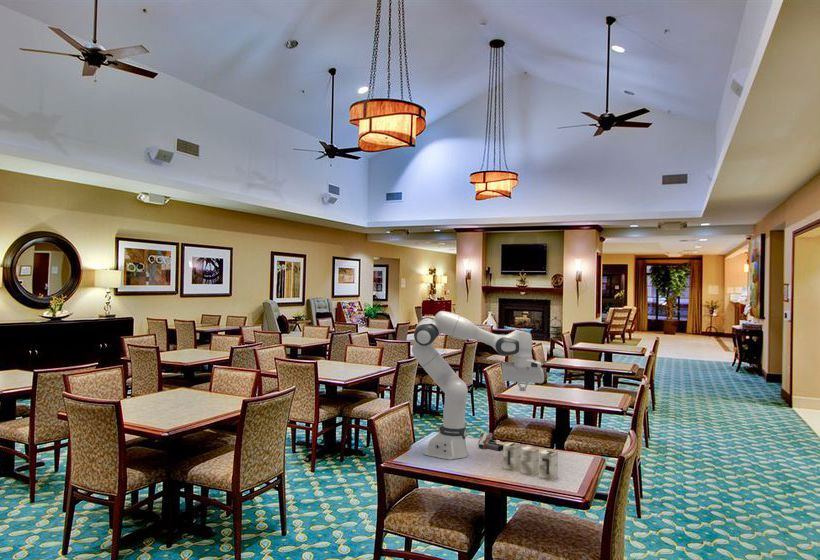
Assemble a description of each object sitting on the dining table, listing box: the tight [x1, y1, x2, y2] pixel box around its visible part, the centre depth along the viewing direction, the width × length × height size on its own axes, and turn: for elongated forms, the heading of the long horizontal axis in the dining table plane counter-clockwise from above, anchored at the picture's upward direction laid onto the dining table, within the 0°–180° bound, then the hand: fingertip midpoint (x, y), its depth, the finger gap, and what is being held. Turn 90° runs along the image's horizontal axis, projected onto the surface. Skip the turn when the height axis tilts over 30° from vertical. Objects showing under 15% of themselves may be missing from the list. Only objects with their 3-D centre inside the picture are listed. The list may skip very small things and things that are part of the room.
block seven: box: [538, 449, 559, 482], centre depth 229 cm, size 6×6×11 cm
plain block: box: [520, 445, 540, 477], centre depth 235 cm, size 6×6×11 cm
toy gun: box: [478, 432, 506, 452], centre depth 282 cm, size 3×29×15 cm
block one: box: [502, 441, 522, 472], centre depth 241 cm, size 6×6×11 cm
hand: (522, 391), depth 252 cm, fingers closed
